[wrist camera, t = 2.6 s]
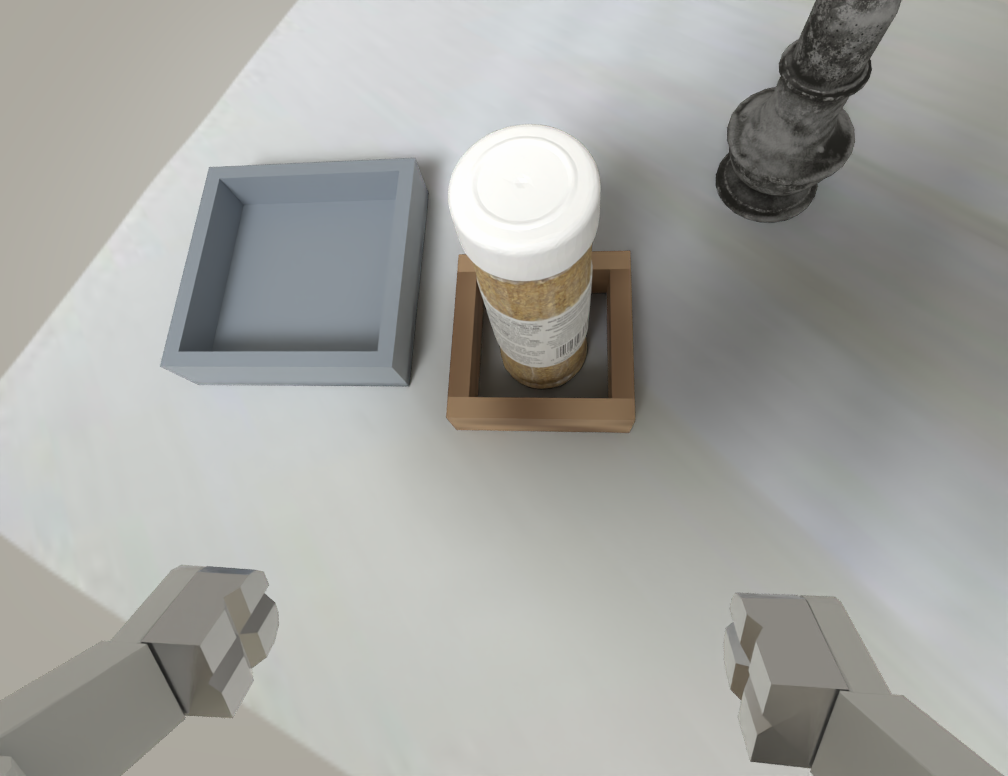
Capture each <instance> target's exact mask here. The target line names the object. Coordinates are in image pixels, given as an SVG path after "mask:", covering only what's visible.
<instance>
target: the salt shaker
mask: <svg viewBox="0 0 1008 776" xmlns="http://www.w3.org/2000/svg"><path fill="white" fill-rule="evenodd" d="M900 3H901V0H816V1H815V4H814V6H813V8H812V11H811V13H810V15H809V17H808V20H807V22H806V24H805V26H804V29H803V31H802V33H801V36H800V38H799V39H798V40H796V41H795V42H793V43H792V44H791V45H789V46H788V47H787V49H786V50H785V51H784V52H783V54H782V56H781V59H780V62H779V72H780V75H781V77H780V79H779V81H778V84H777V86H776V87H774V88H769V89H765V90H762V91H760V92H758V93H756V94H753V95H751V96H750V97H748V98H747V99H746V100H744V101H743V102H742V103H740V105H739V106H738V107H737V108H736V110H735V111H734V112H733V114H732V116H731V119H730V122H729V124H728V127H727V141H728V144H729V153H728V154H727V155H726V156H725V157H724V159H723V160H722V161H721V163H720V165H719V167H718V170H717V173H716V188H717V191H718V194H719V196H720V198H721V199H722V201H723V202H724V204H725V205H726V206H727V207H728V208H730V209H731V210H732V211H733V212H734V213H736V214H738V215H740V216H742V217H744V218H746V219H749V220H753V221H757V222H769V223H774V222H779V221H785V220H788V219H790V218H792V217H795V216H797V215H799V214H800V213H801V212H802V211H804V210H805V209H806V208H807V207H808V206H809V204H810V203H811V201H812V200H813V198H814V197H815V194H816V190H817V187H818V185H817V183H819V182H820V181H822V180H823V179H825V178H827V177H829V176H831V175H832V174H834V173H835V172H836V171H838V170H839V169H840V168H841V167H843V165H844V164H845V162H846V161H847V159H848V158H849V156H850V155H851V153H852V150H853V146H854V143H855V135H854V127H853V125H852V122H851V120H850V118H849V115H848V114H847V113H846V112H845V110H844V109H843V106H844V105H845V103H846V101H847V100H848V98H849V96H851V95H853V94H855V93H856V92H858V91H859V90H860V89H862V88H863V86H864V85H865V84H866V82H867V81H868V79H869V77H870V74H871V71H872V67H871V60H870V58H871V56H872V54H873V53H874V51H875V49H876V48H877V46H878V44H879V42H880V41H881V39H882V37H883V36H884V34H885V32H886V31H887V29H888V27H889V26H890V24H891V22H892V21H893V19H894V17H895V16H896V14H897V12H898V9H899V6H900Z"/></svg>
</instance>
